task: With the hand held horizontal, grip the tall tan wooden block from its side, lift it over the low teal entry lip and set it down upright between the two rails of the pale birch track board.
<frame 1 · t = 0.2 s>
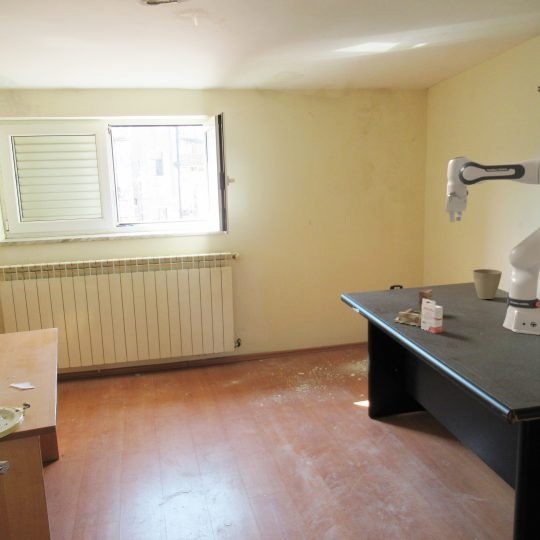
hand: (455, 221, 226), 48 cm above the table, tool pointing down, fingers open, 8 cm apart
plant pot: (485, 298, 270), on the table
tall tan wooden block: (425, 313, 243), on the table
track: (413, 320, 230), on the table
ink cartridge box: (431, 330, 215), on the table
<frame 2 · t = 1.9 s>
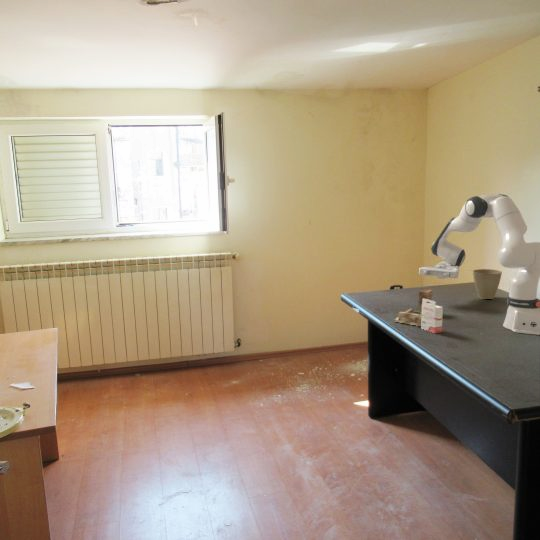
hand: (434, 274, 249), 18 cm above the table, tool horizontal, fingers open, 8 cm apart
nothing on the table moved.
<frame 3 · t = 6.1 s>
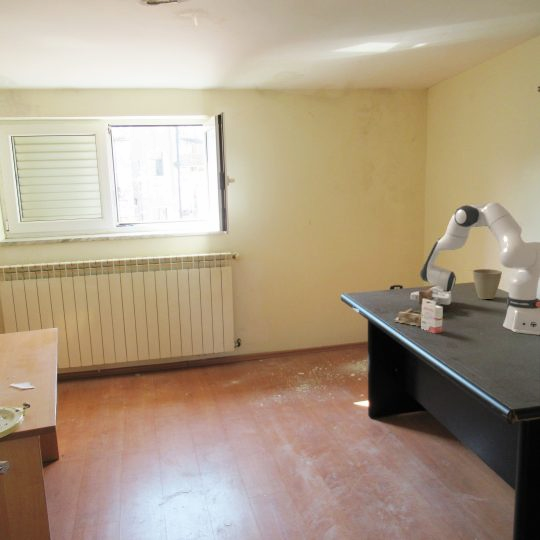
hand: (425, 301, 242), 7 cm above the table, tool horizontal, fingers closed on tall tan wooden block, 4 cm apart
tall tan wooden block: (425, 313, 243), on the table, touching gripper
everything else where it was.
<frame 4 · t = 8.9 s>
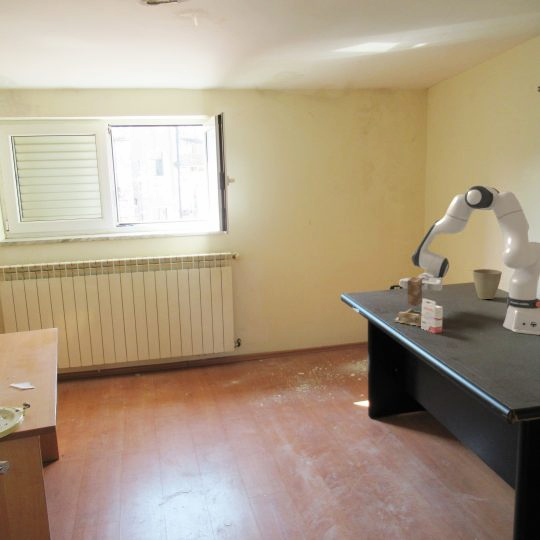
hand: (415, 287, 227), 17 cm above the table, tool horizontal, fingers closed on tall tan wooden block, 4 cm apart
tall tan wooden block: (414, 303, 229), point 9 cm above the table, touching gripper
everything else where it was.
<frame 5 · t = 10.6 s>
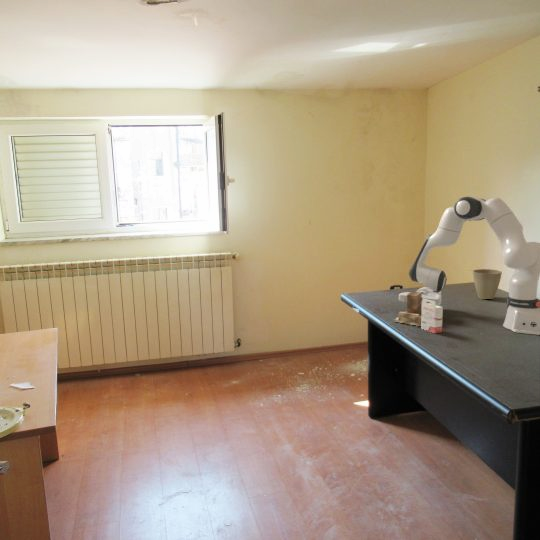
hand: (414, 302, 229), 9 cm above the table, tool horizontal, fingers closed on tall tan wooden block, 4 cm apart
tall tan wooden block: (413, 317, 231), point 2 cm above the table, touching gripper, track
everything else where it was.
when the fingers open (9 cm above the table, at t = 11.1 s): tall tan wooden block stays where it is, resting on track.
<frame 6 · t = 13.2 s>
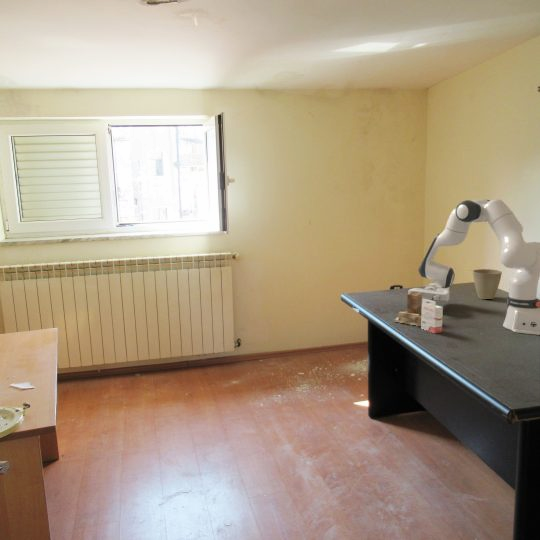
hand: (423, 297, 239), 9 cm above the table, tool horizontal, fingers open, 8 cm apart
tall tan wooden block: (413, 317, 231), point 1 cm above the table, touching track
everything else where it was.
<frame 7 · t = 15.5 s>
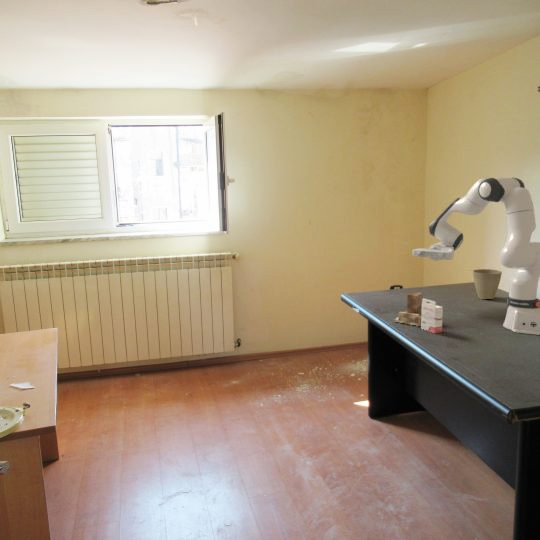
hand: (427, 255, 238), 30 cm above the table, tool horizontal, fingers open, 8 cm apart
nothing on the table moved.
at the end: tall tan wooden block inside the target area on the track (0.4 cm from its centre), point 1.5 cm above the track's base; tall tan wooden block tilted 0°; the gripper is holding nothing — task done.
